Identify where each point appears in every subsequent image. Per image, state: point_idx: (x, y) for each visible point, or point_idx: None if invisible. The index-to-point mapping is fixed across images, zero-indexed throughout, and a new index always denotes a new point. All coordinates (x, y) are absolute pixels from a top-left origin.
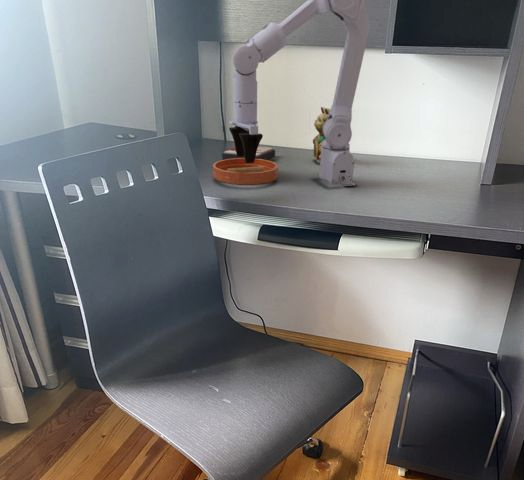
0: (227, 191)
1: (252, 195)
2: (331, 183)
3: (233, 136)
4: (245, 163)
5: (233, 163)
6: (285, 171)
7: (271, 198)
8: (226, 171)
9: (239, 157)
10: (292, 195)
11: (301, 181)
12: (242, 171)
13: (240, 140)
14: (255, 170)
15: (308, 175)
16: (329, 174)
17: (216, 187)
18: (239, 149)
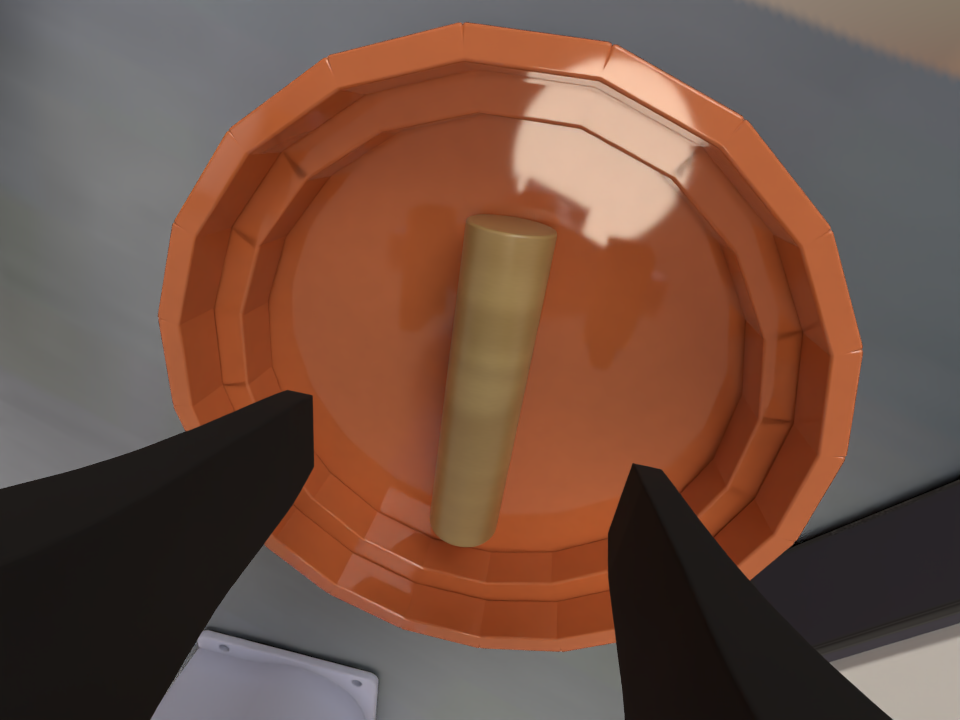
0: (232, 65)
1: (104, 217)
2: (191, 658)
3: (762, 687)
4: (729, 524)
5: (793, 433)
6: (603, 670)
7: (35, 301)
8: (264, 105)
9: (955, 583)
10: (96, 436)
11: (359, 613)
12: (449, 359)
13: (664, 682)
14: (437, 465)
15: (462, 696)
16: (190, 705)
17: (385, 10)
18: (642, 545)
